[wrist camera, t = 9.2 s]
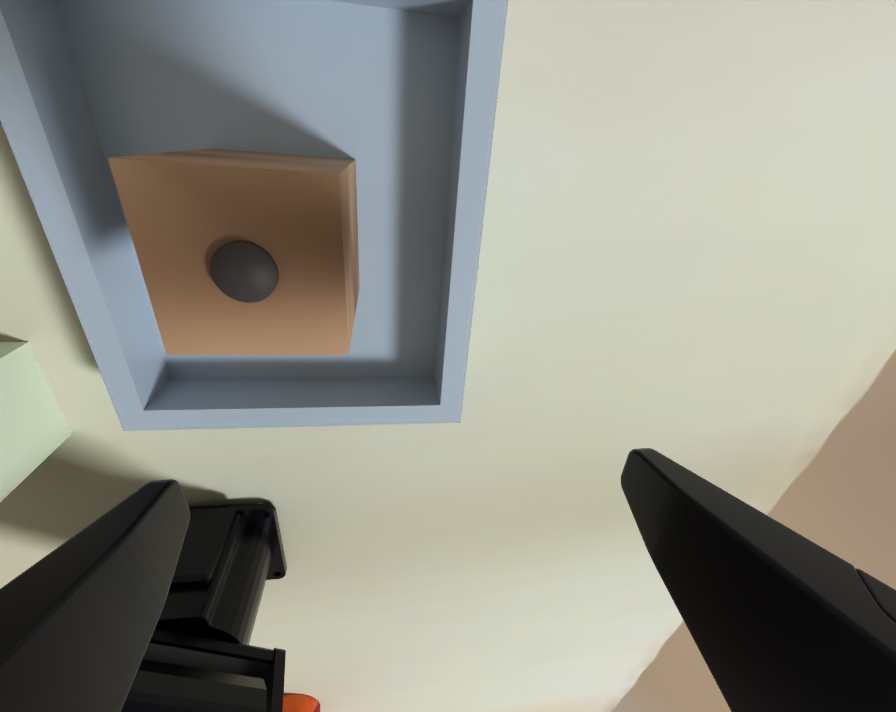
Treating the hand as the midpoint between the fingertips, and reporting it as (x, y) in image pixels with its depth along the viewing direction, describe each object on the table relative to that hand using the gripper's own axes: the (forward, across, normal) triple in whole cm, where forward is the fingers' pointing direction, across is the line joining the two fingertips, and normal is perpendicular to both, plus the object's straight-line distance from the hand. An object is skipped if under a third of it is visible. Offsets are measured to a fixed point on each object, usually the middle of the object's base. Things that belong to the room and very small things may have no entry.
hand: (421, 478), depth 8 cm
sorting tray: (+12, +4, -3) cm, 13 cm away
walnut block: (+11, +4, -3) cm, 12 cm away
